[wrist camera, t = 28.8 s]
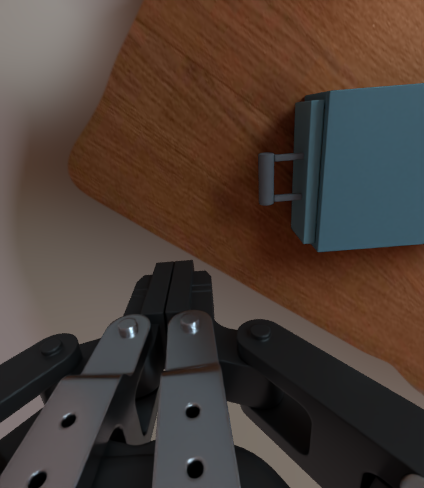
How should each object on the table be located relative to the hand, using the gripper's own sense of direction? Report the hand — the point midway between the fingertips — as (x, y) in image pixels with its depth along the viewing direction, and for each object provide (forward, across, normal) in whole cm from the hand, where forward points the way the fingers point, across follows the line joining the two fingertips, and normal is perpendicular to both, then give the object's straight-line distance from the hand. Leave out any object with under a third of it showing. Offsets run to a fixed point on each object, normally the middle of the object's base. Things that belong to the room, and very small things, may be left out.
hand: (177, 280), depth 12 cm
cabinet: (+23, -22, 0) cm, 32 cm away
